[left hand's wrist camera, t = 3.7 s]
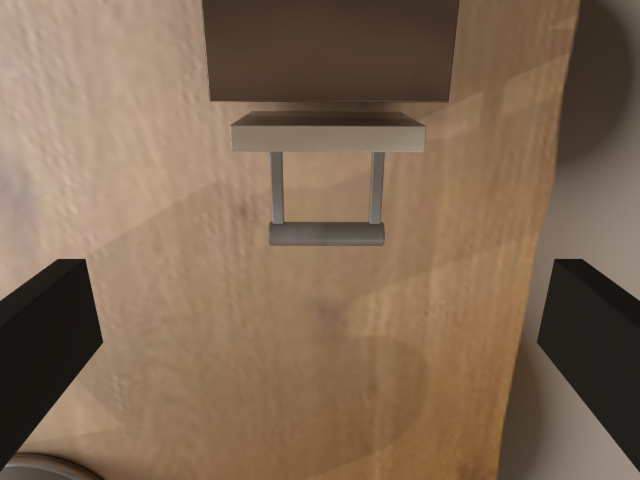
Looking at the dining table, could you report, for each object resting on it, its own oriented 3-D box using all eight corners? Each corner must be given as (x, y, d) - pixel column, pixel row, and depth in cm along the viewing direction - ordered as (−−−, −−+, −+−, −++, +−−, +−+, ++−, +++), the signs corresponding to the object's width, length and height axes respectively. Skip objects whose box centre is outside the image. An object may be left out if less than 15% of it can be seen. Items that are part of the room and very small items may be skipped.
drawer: (393, 216, 29) (414, 259, 22) (256, 216, 29) (238, 258, 22) (423, -212, 21) (469, -335, 15) (235, -213, 21) (197, -338, 14)
